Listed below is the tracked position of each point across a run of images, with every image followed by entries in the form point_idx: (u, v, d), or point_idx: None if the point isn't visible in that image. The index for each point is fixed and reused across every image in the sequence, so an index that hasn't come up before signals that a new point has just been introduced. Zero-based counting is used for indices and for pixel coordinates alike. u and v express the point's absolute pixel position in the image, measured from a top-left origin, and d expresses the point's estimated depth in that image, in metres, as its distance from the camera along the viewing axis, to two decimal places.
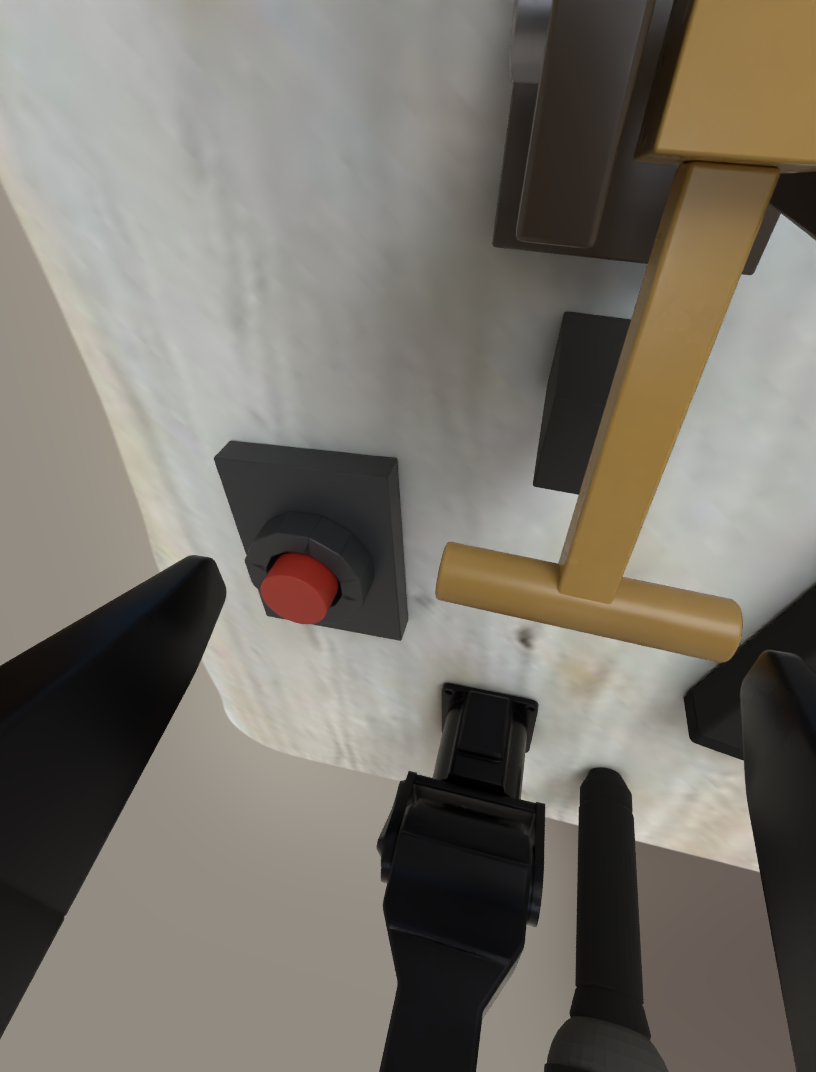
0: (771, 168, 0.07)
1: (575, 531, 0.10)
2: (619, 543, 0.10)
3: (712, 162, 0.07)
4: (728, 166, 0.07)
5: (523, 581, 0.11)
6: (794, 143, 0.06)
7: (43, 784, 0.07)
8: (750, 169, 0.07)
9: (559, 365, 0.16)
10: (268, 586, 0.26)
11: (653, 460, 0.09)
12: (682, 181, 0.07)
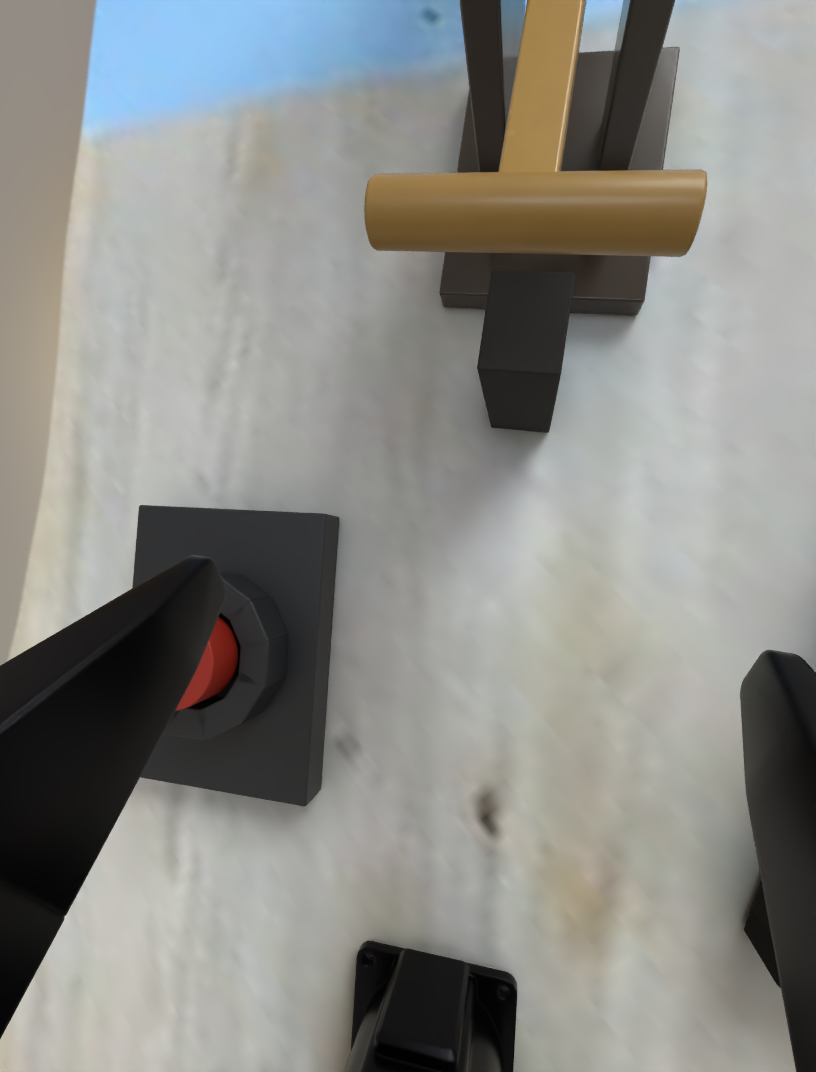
0: None
1: (509, 108, 0.10)
2: (553, 104, 0.10)
3: None
4: None
5: (461, 173, 0.10)
6: None
7: (43, 784, 0.07)
8: None
9: None
10: None
11: (567, 28, 0.10)
12: None
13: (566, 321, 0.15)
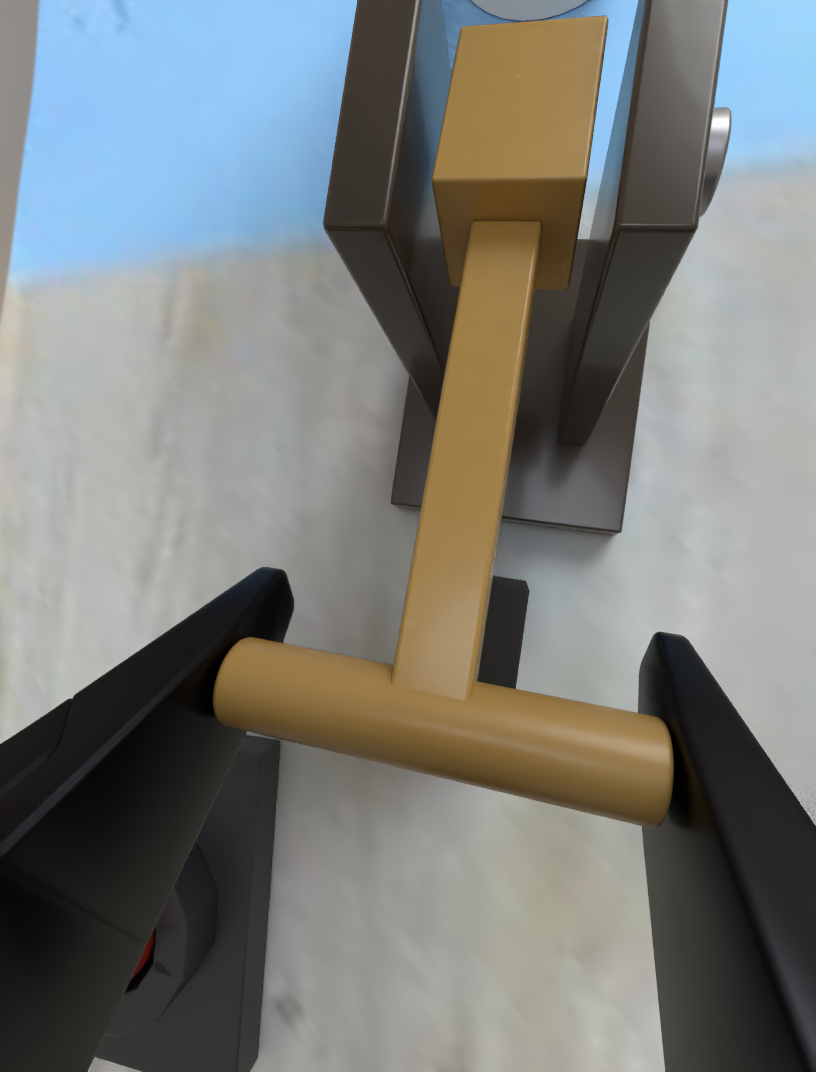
0: (534, 223, 0.08)
1: (409, 577, 0.07)
2: (465, 588, 0.07)
3: (488, 221, 0.08)
4: (499, 218, 0.08)
5: (342, 670, 0.07)
6: (532, 167, 0.07)
7: (134, 811, 0.07)
8: (517, 221, 0.08)
9: None
10: None
11: (488, 468, 0.07)
12: (469, 237, 0.08)
13: (518, 647, 0.12)
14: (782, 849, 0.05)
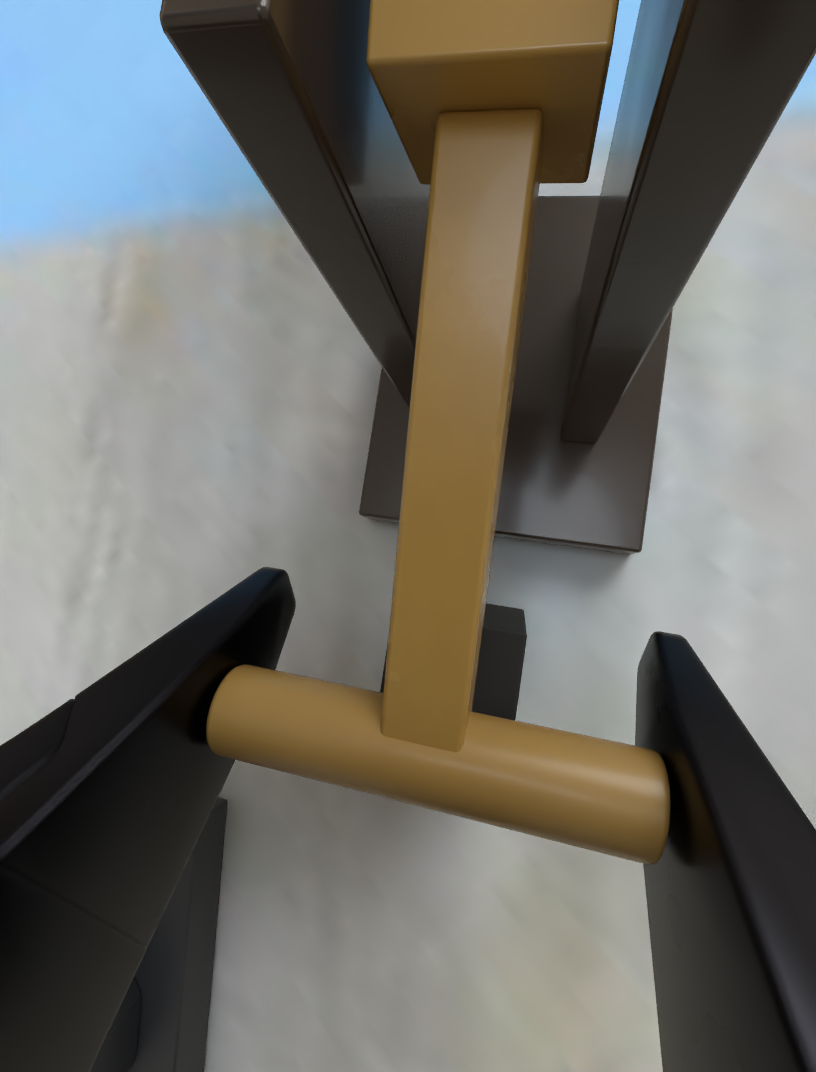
0: (530, 111, 0.05)
1: (390, 626, 0.07)
2: (451, 641, 0.06)
3: (462, 111, 0.05)
4: (478, 109, 0.05)
5: (330, 716, 0.07)
6: (523, 30, 0.05)
7: (136, 811, 0.07)
8: (505, 111, 0.05)
9: None
10: None
11: (472, 502, 0.06)
12: (436, 140, 0.06)
13: (512, 715, 0.09)
14: (779, 848, 0.05)
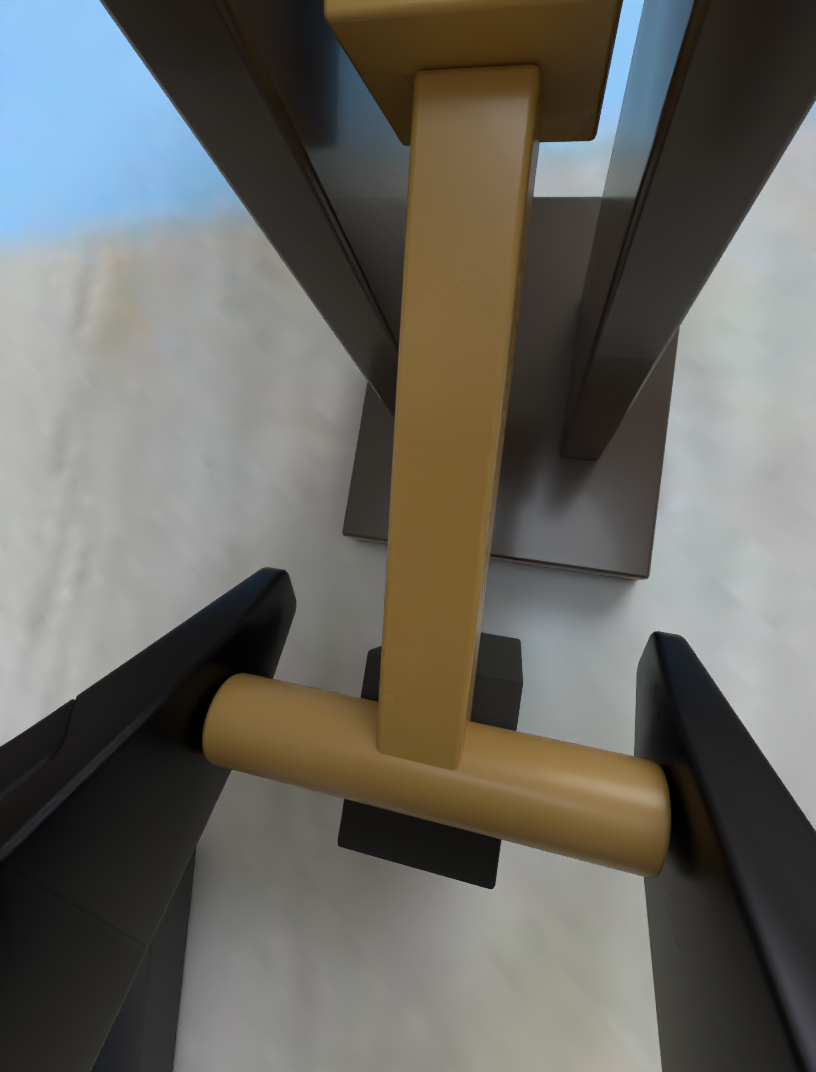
0: (526, 67, 0.04)
1: (382, 647, 0.06)
2: (445, 664, 0.06)
3: (444, 68, 0.05)
4: (463, 66, 0.04)
5: (326, 732, 0.07)
6: None
7: (137, 811, 0.07)
8: (495, 68, 0.04)
9: None
10: None
11: (465, 524, 0.06)
12: (414, 105, 0.05)
13: None
14: (778, 848, 0.05)
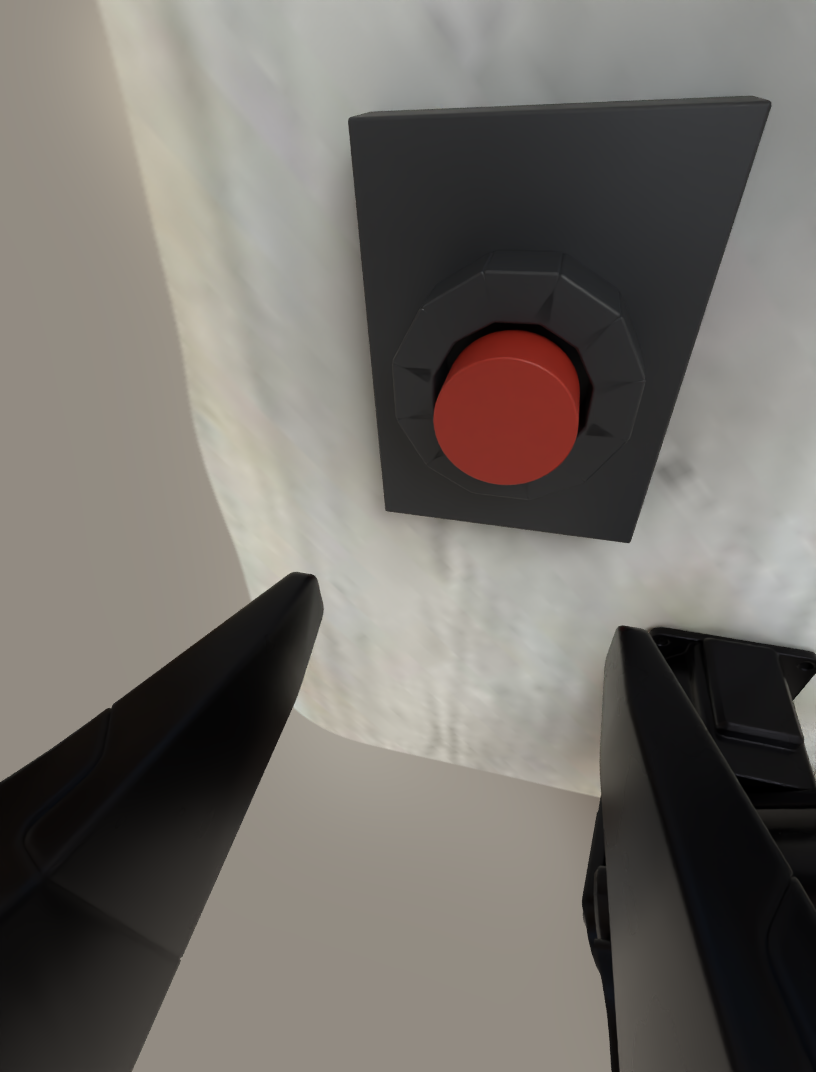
0: None
1: None
2: None
3: None
4: None
5: None
6: None
7: (174, 823, 0.06)
8: None
9: None
10: (458, 393, 0.13)
11: None
12: None
13: None
14: (722, 835, 0.05)
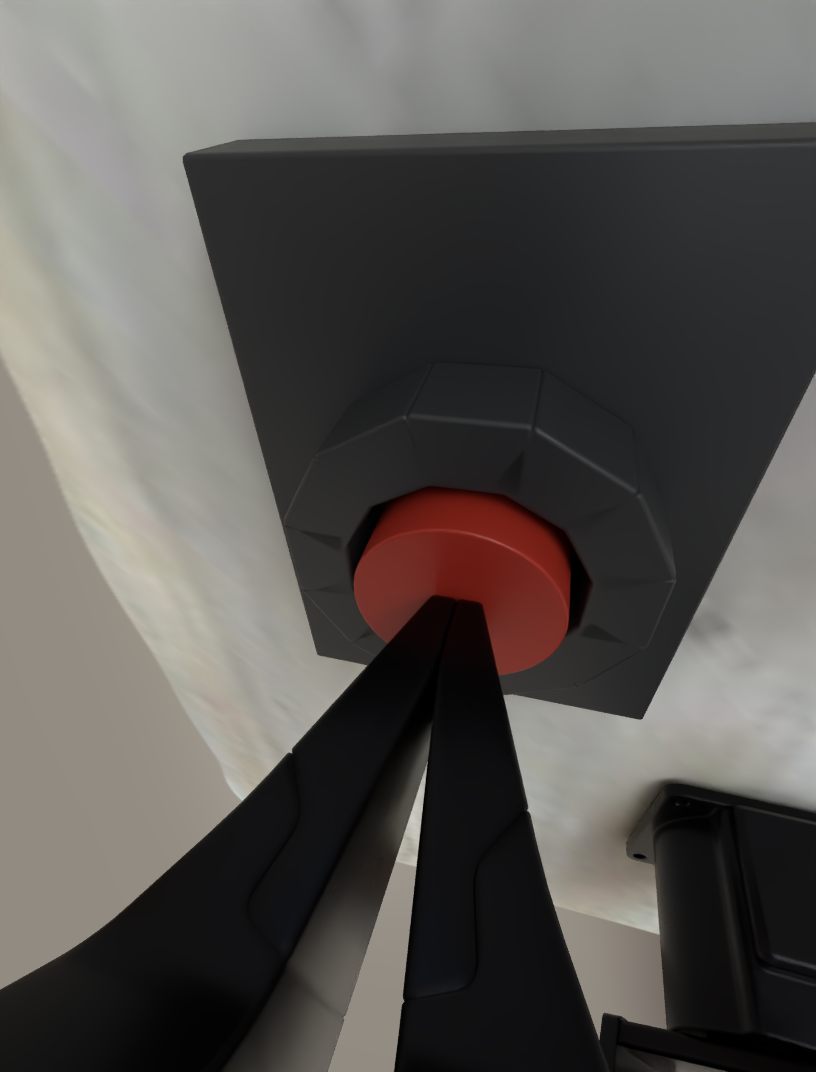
0: None
1: None
2: None
3: None
4: None
5: None
6: None
7: (361, 878, 0.06)
8: None
9: None
10: (385, 567, 0.08)
11: None
12: None
13: None
14: (475, 776, 0.06)
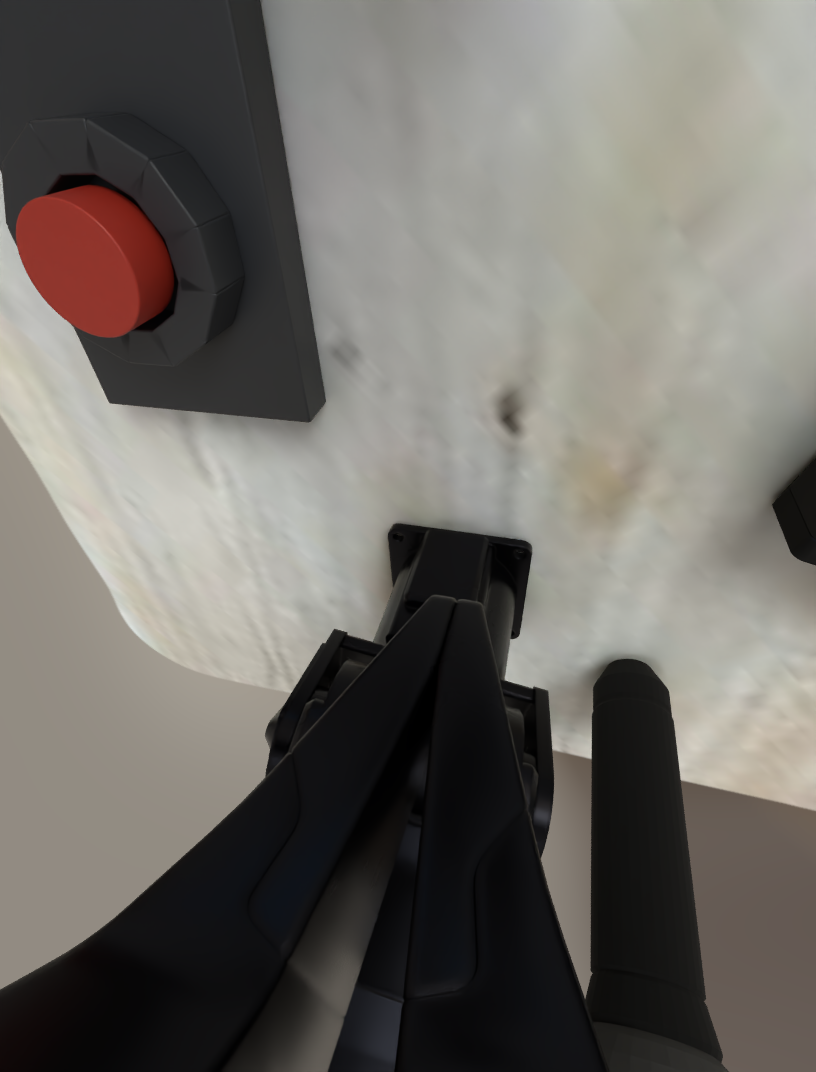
0: None
1: None
2: None
3: None
4: None
5: None
6: None
7: (361, 877, 0.06)
8: None
9: None
10: (28, 239, 0.14)
11: None
12: None
13: None
14: (476, 776, 0.06)
